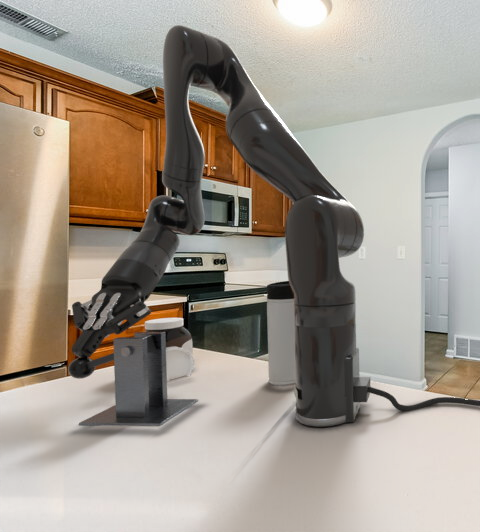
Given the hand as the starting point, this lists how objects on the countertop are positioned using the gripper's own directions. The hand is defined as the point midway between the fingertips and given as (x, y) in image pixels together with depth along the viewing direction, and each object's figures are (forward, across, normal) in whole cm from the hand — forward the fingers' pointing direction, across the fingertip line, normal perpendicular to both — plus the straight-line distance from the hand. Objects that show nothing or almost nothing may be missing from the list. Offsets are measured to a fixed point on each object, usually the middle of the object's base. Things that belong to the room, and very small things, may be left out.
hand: (80, 354), depth 57 cm
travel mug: (-4, +27, +18) cm, 32 cm away
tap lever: (+1, +5, +1) cm, 6 cm away
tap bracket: (+7, +10, +7) cm, 14 cm away
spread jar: (-6, +1, +21) cm, 22 cm away
